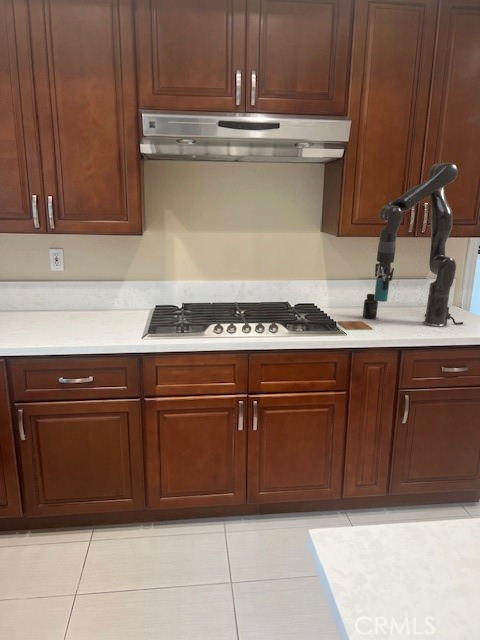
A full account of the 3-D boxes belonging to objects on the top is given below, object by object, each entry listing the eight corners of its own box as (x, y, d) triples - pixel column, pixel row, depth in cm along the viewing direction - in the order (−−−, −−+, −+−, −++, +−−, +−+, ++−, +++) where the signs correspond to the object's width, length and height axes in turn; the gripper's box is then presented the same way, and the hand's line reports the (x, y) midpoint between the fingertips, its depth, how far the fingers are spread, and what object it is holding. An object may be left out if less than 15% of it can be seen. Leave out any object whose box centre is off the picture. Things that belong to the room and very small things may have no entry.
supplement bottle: (376, 319, 232) (379, 296, 229) (362, 318, 233) (365, 295, 230) (375, 316, 238) (378, 293, 235) (362, 315, 240) (364, 292, 237)
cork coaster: (361, 322, 226) (361, 321, 226) (371, 329, 214) (371, 327, 214) (337, 322, 224) (337, 321, 224) (346, 329, 213) (347, 328, 212)
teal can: (383, 298, 217) (386, 277, 215) (389, 301, 212) (392, 279, 209) (371, 298, 216) (374, 277, 214) (377, 301, 211) (379, 279, 208)
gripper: (401, 253, 202) (397, 291, 206) (386, 249, 216) (382, 285, 220) (385, 253, 201) (381, 291, 205) (371, 249, 215) (367, 285, 219)
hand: (381, 288), depth 213 cm, fingers closed on teal can, 5 cm apart
